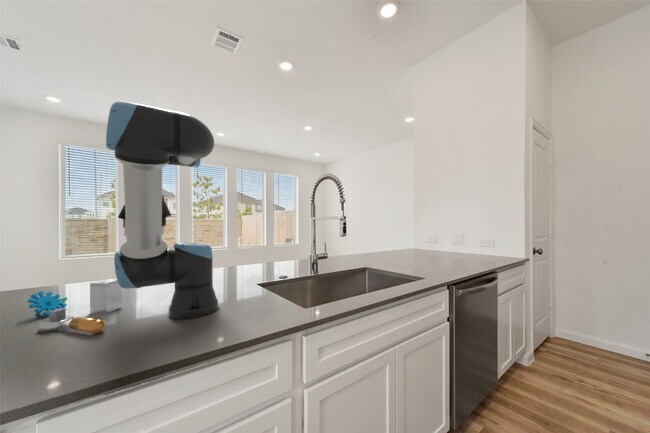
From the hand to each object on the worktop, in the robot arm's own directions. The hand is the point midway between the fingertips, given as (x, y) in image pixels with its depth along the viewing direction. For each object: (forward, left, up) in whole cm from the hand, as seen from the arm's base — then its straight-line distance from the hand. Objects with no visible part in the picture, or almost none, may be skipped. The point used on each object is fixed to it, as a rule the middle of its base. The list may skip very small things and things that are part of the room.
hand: (144, 235), depth 102 cm
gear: (+18, +20, -26) cm, 37 cm away
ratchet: (-7, +27, -25) cm, 38 cm away
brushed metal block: (+1, +13, -25) cm, 29 cm away
